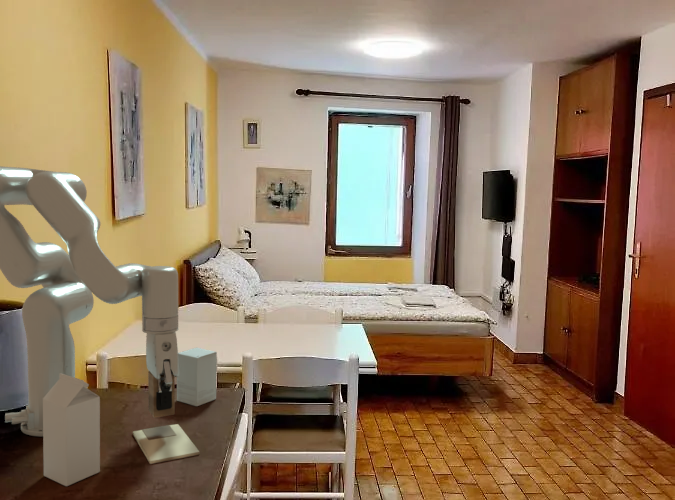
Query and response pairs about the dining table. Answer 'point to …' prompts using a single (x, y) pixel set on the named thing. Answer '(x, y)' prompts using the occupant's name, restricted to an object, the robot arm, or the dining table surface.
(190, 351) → the supplement box
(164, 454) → the board
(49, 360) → the robot arm
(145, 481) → the dining table surface
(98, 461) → the milk carton
